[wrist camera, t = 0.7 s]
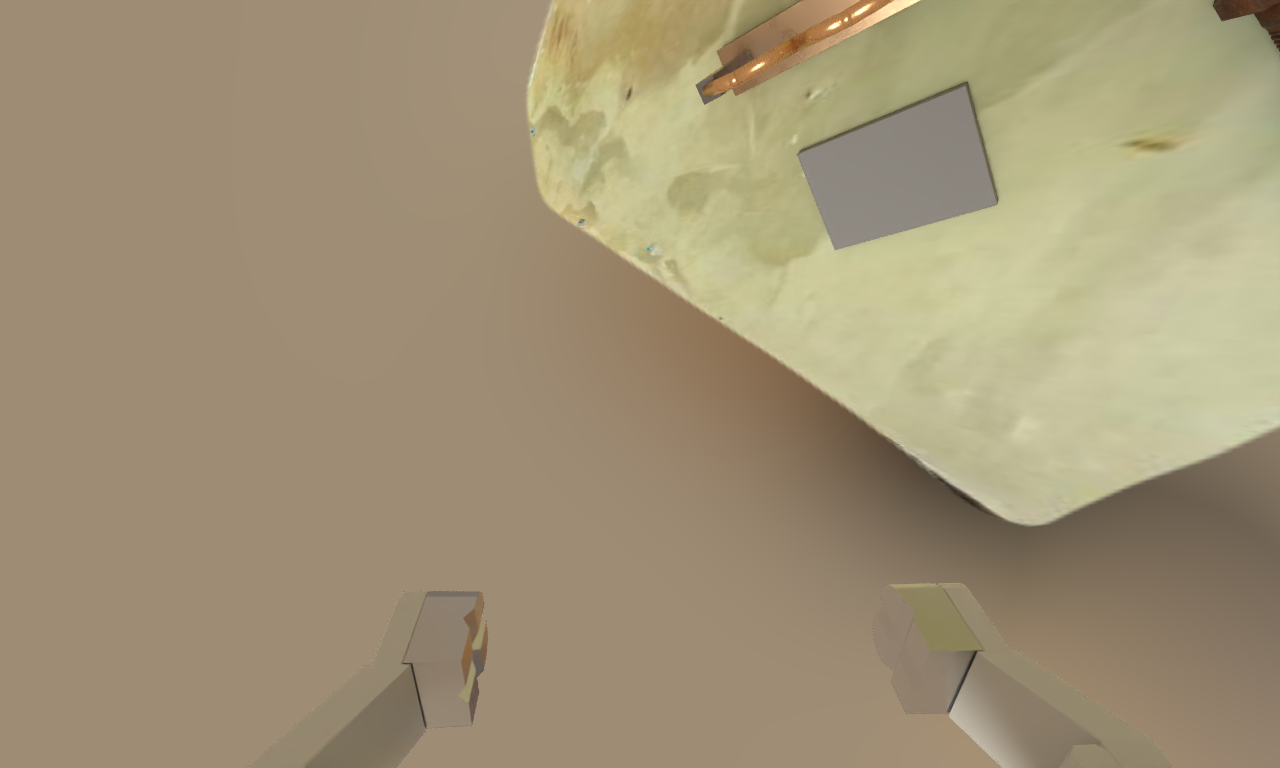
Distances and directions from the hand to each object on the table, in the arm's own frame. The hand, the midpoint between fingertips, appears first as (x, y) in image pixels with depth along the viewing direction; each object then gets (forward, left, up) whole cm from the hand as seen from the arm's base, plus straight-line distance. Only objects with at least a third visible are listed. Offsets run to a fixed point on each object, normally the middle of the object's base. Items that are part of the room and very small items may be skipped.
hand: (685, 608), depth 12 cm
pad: (+8, +8, -50) cm, 51 cm away
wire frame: (+8, -6, -50) cm, 51 cm away
